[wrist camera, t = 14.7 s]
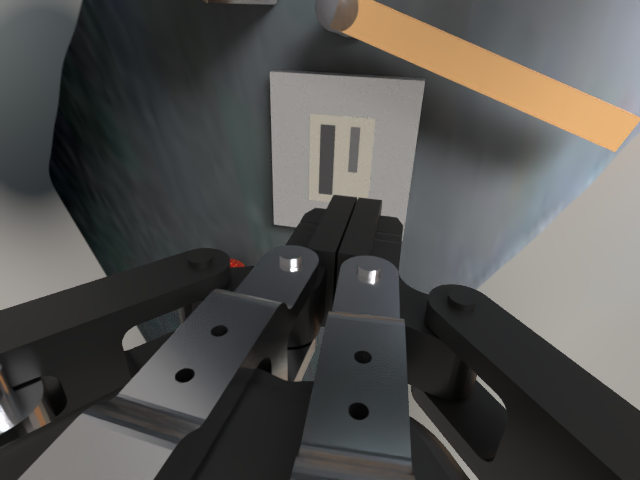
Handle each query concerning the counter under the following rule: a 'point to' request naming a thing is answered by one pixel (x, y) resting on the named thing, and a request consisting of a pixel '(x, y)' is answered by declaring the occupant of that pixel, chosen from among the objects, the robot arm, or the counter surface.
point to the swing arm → (479, 69)
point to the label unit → (342, 140)
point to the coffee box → (243, 1)
